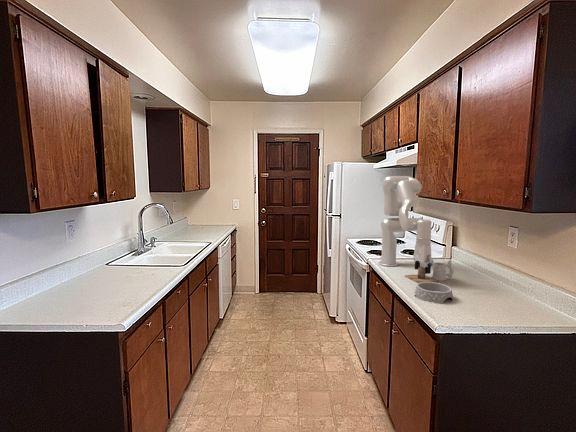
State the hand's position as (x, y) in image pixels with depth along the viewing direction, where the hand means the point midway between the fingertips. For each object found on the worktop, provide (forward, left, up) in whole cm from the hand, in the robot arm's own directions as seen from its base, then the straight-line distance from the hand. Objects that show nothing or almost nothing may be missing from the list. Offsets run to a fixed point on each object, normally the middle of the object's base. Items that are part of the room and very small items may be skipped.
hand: (422, 271), depth 194 cm
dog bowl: (+23, -9, -6) cm, 26 cm away
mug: (+1, +13, -6) cm, 14 cm away
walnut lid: (-1, 0, -5) cm, 5 cm away
